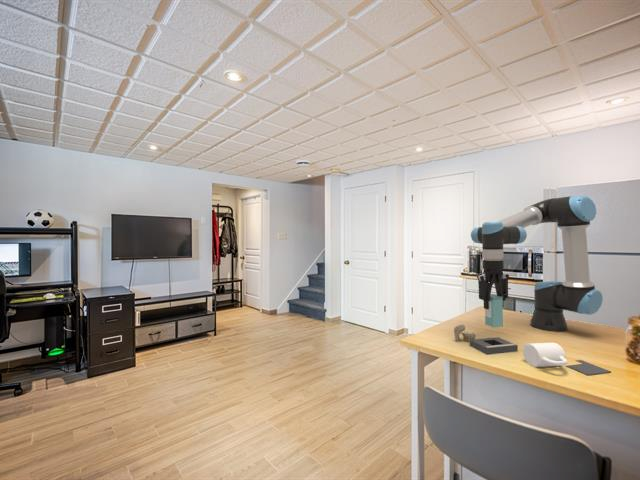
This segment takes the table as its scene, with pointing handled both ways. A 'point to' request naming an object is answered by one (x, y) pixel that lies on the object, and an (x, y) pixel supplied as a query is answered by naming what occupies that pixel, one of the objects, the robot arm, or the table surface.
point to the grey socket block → (493, 345)
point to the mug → (544, 354)
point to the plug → (495, 312)
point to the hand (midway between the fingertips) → (493, 316)
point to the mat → (588, 368)
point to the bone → (465, 334)
